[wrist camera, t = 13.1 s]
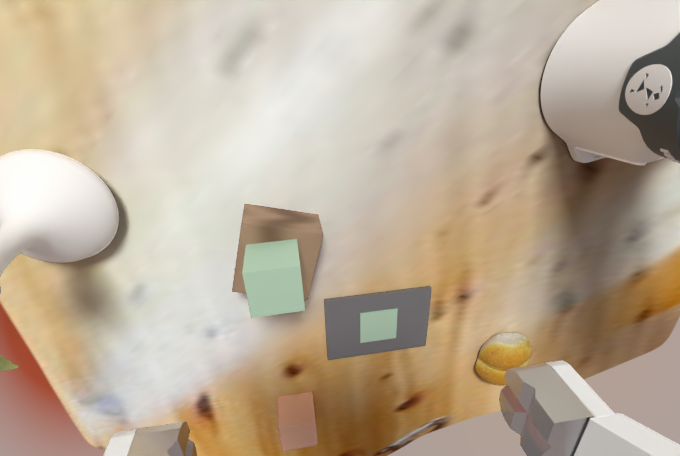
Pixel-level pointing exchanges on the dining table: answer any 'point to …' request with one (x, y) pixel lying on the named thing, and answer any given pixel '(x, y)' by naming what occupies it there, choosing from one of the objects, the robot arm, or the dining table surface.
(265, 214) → the walnut base block
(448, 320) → the dining table surface
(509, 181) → the dining table surface
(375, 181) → the dining table surface
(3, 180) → the flower in vase
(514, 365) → the bread roll
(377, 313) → the card
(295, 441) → the terracotta block
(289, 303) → the green block
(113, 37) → the dining table surface
